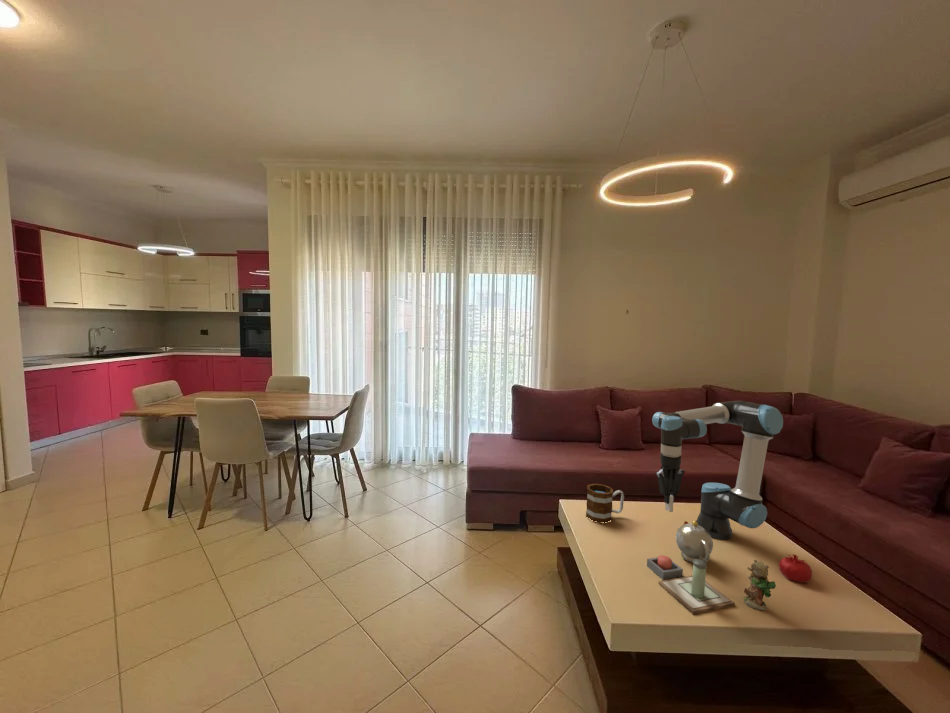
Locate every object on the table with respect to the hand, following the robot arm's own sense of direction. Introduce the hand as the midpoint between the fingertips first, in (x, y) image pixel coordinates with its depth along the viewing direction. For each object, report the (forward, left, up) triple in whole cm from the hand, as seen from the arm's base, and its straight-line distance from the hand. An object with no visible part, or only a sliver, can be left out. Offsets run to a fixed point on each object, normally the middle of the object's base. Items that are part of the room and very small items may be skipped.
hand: (668, 510), depth 157 cm
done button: (+6, +6, -21) cm, 22 cm away
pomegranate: (-42, +21, -22) cm, 52 cm away
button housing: (+6, +6, -22) cm, 23 cm away
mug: (+3, -39, -22) cm, 45 cm away
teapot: (-12, +3, -22) cm, 25 cm away
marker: (+6, +22, -20) cm, 30 cm away
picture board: (+5, +20, -22) cm, 30 cm away
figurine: (-12, +30, -22) cm, 39 cm away
